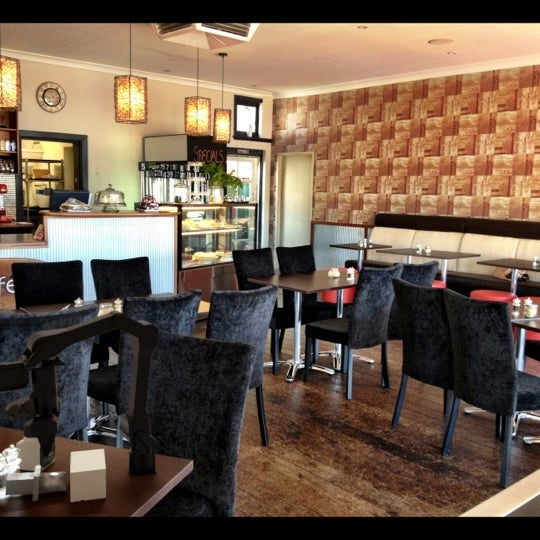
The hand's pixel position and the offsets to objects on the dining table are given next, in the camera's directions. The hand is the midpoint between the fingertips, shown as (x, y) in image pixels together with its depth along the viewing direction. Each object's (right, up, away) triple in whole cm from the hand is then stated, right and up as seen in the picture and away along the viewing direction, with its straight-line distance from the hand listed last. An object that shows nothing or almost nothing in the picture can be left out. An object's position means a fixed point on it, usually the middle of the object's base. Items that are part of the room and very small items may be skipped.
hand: (47, 448), depth 139 cm
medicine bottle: (-9, -9, +15) cm, 20 cm away
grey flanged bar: (-3, -11, -1) cm, 12 cm away
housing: (+9, -11, +3) cm, 14 cm away
